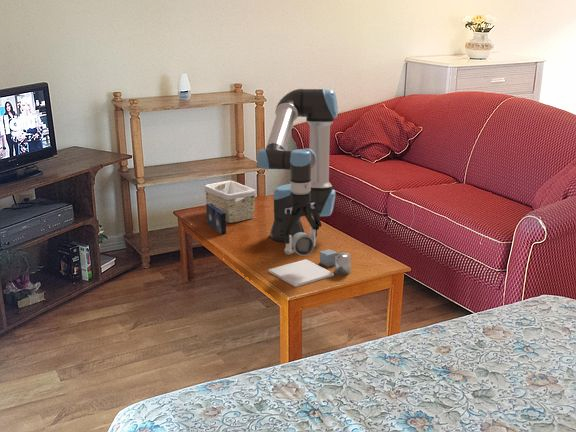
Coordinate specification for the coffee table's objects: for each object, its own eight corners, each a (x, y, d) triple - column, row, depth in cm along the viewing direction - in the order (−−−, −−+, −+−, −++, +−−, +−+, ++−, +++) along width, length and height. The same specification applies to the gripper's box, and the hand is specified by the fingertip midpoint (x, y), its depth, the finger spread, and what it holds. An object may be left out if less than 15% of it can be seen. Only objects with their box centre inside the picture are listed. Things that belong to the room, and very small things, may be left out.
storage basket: (204, 212, 334) (202, 184, 330) (232, 207, 343) (231, 179, 338) (228, 225, 316) (227, 195, 311) (257, 218, 324) (257, 189, 320)
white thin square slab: (306, 261, 271) (306, 259, 271) (333, 275, 257) (333, 273, 256) (268, 271, 261) (268, 269, 261) (295, 287, 247) (295, 284, 247)
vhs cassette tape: (226, 234, 304) (225, 213, 300) (220, 235, 302) (219, 214, 299) (212, 222, 319) (211, 202, 316) (206, 223, 318) (205, 203, 315)
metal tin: (343, 267, 264) (343, 251, 262) (353, 272, 260) (353, 255, 257) (331, 271, 261) (331, 254, 259) (341, 276, 256) (341, 259, 254)
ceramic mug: (308, 247, 262) (308, 228, 259) (314, 254, 254) (314, 235, 252) (282, 250, 260) (281, 231, 257) (287, 258, 252) (286, 238, 250)
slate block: (329, 260, 272) (329, 248, 270) (337, 264, 268) (337, 252, 267) (319, 263, 269) (319, 251, 268) (327, 267, 265) (327, 255, 264)
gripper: (280, 199, 240) (281, 257, 246) (331, 189, 252) (330, 244, 259) (269, 194, 246) (270, 251, 252) (319, 185, 258) (318, 239, 265)
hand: (300, 248), depth 256 cm, fingers closed on ceramic mug, 10 cm apart
